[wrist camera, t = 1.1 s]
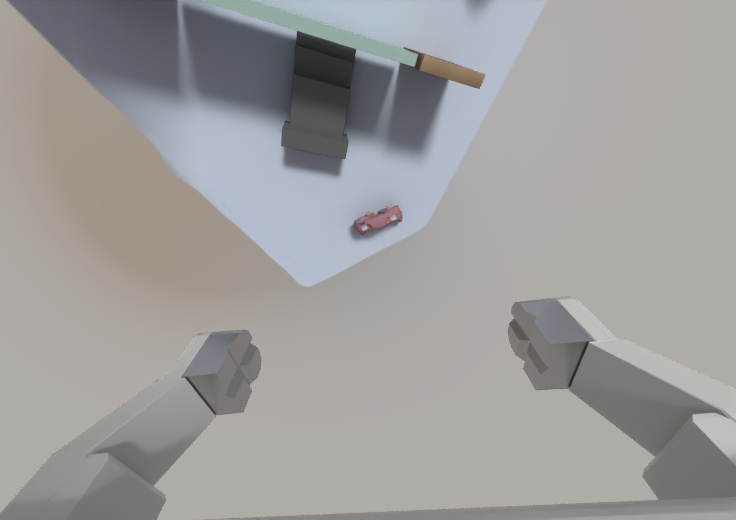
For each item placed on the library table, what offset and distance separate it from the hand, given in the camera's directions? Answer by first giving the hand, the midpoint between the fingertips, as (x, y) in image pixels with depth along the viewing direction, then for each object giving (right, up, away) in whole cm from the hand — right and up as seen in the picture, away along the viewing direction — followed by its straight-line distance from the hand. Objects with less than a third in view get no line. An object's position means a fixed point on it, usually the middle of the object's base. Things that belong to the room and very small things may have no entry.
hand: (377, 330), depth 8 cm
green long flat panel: (-9, +32, +25) cm, 42 cm away
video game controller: (+2, +12, +48) cm, 50 cm away
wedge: (-8, +27, +34) cm, 44 cm away
